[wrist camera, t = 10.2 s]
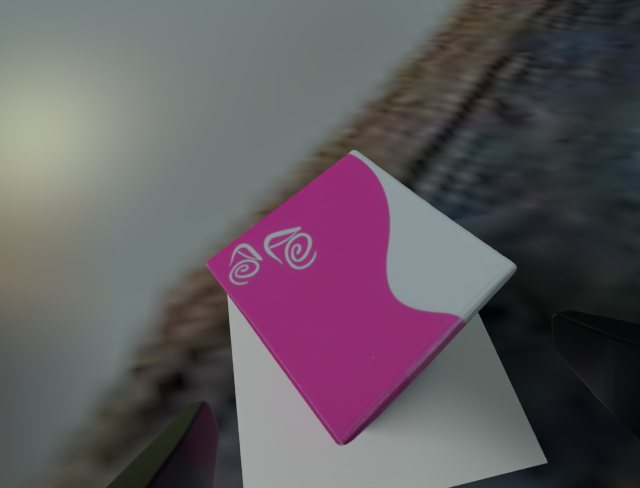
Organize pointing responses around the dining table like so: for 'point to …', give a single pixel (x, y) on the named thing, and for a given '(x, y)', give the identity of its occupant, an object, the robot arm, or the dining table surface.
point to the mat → (384, 423)
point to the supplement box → (357, 289)
